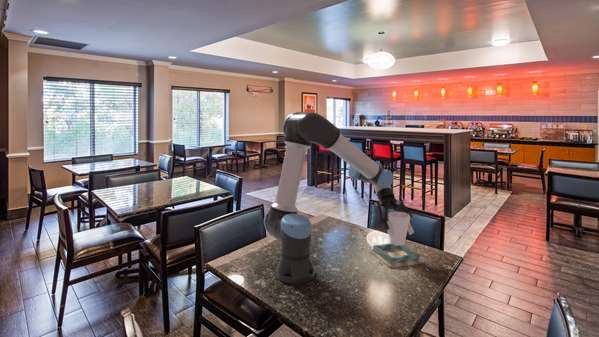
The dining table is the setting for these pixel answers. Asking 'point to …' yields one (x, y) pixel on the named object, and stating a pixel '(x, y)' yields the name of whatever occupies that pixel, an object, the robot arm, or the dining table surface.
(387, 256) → the plate
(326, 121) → the robot arm
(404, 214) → the foam cup
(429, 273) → the dining table surface
